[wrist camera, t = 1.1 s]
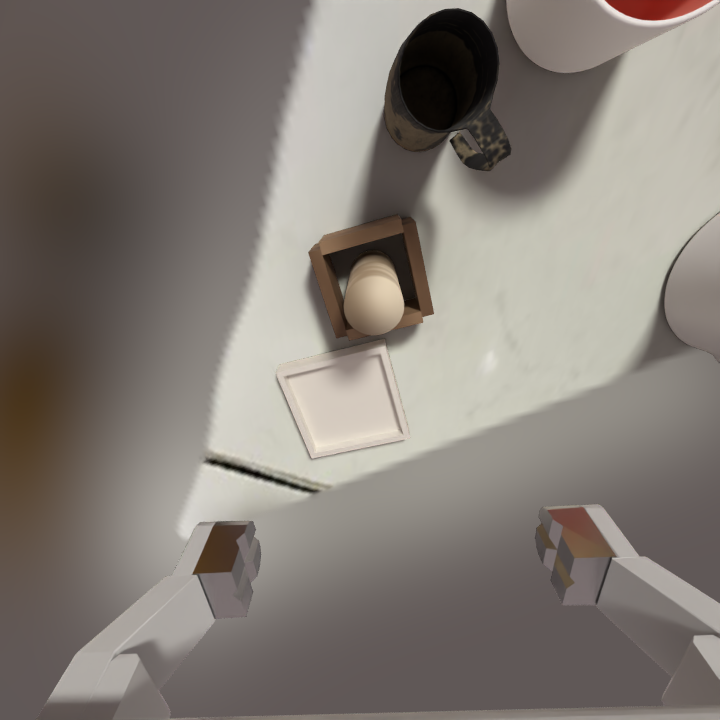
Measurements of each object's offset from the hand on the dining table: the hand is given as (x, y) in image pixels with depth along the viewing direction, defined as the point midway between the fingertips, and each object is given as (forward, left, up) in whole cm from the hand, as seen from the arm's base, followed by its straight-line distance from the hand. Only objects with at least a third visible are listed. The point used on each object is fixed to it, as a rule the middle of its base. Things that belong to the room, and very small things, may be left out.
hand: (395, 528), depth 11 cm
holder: (0, -1, -26) cm, 26 cm away
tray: (+6, +11, -26) cm, 29 cm away
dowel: (0, -1, -26) cm, 26 cm away
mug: (-7, -11, -27) cm, 30 cm away
